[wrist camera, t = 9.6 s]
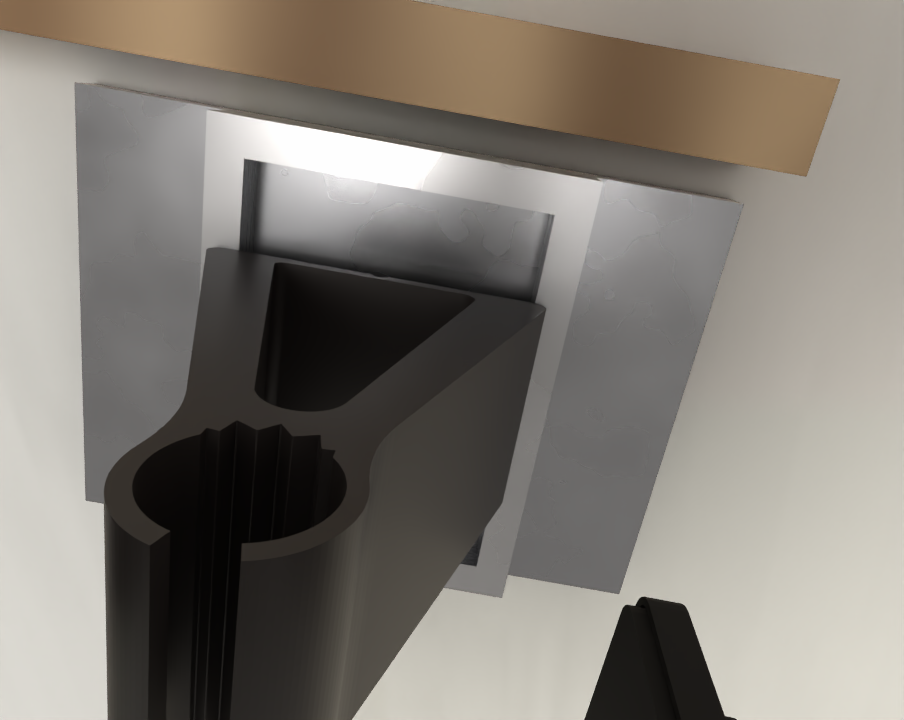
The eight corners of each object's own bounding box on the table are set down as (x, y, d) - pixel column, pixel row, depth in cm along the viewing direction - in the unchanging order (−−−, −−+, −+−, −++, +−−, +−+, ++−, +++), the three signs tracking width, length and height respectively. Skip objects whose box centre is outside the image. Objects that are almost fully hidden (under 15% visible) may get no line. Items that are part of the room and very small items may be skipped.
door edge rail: (766, 85, 18) (839, 79, 14) (742, 162, 19) (806, 176, 15) (-59, -67, 18) (-206, -114, 14) (-51, 18, 18) (-190, -6, 15)
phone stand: (546, 304, 18) (640, 631, 7) (502, 496, 20) (517, 986, 9) (213, 243, 18) (-253, 469, 7) (203, 442, 20) (-164, 869, 9)
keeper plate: (731, 199, 19) (760, 210, 17) (614, 574, 24) (625, 619, 21) (95, 83, 19) (46, 80, 17) (101, 484, 23) (64, 521, 21)
